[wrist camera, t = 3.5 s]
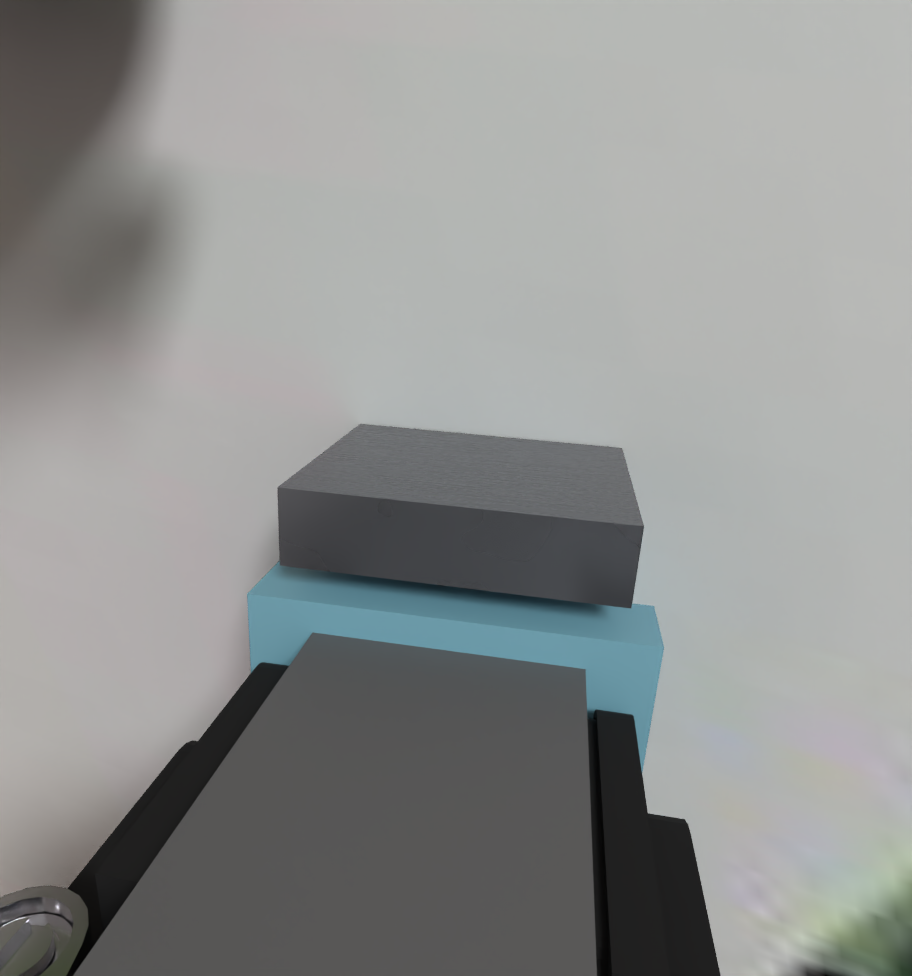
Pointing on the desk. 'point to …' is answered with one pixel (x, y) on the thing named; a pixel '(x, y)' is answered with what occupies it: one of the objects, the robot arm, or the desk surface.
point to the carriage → (397, 790)
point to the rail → (467, 514)
